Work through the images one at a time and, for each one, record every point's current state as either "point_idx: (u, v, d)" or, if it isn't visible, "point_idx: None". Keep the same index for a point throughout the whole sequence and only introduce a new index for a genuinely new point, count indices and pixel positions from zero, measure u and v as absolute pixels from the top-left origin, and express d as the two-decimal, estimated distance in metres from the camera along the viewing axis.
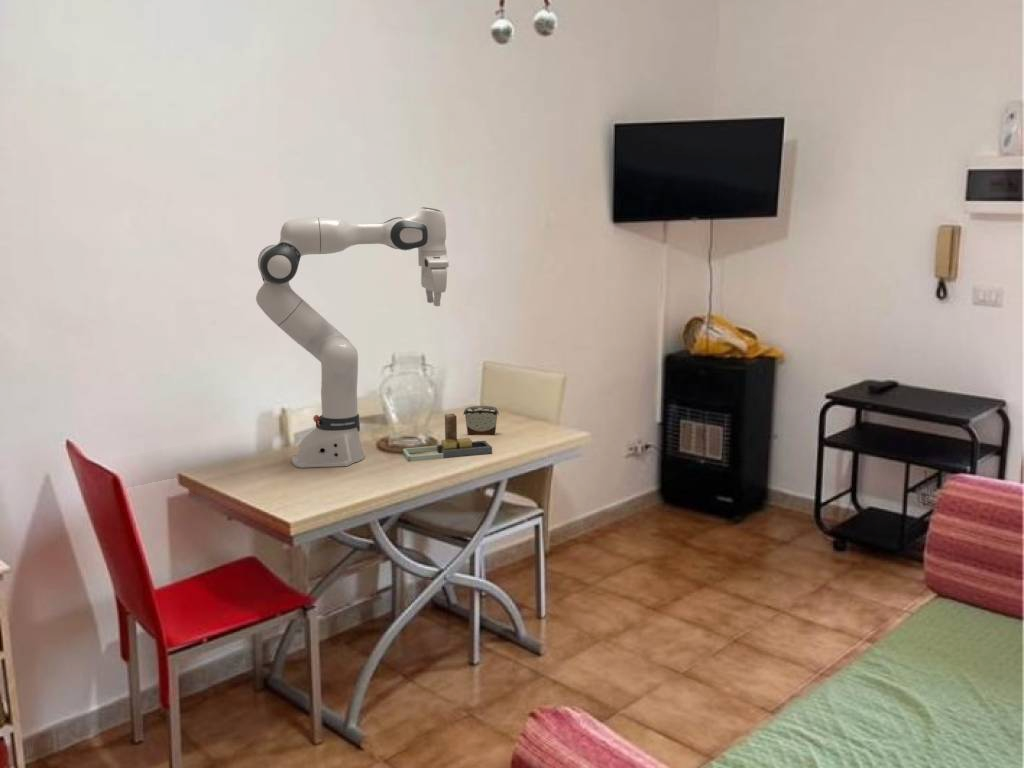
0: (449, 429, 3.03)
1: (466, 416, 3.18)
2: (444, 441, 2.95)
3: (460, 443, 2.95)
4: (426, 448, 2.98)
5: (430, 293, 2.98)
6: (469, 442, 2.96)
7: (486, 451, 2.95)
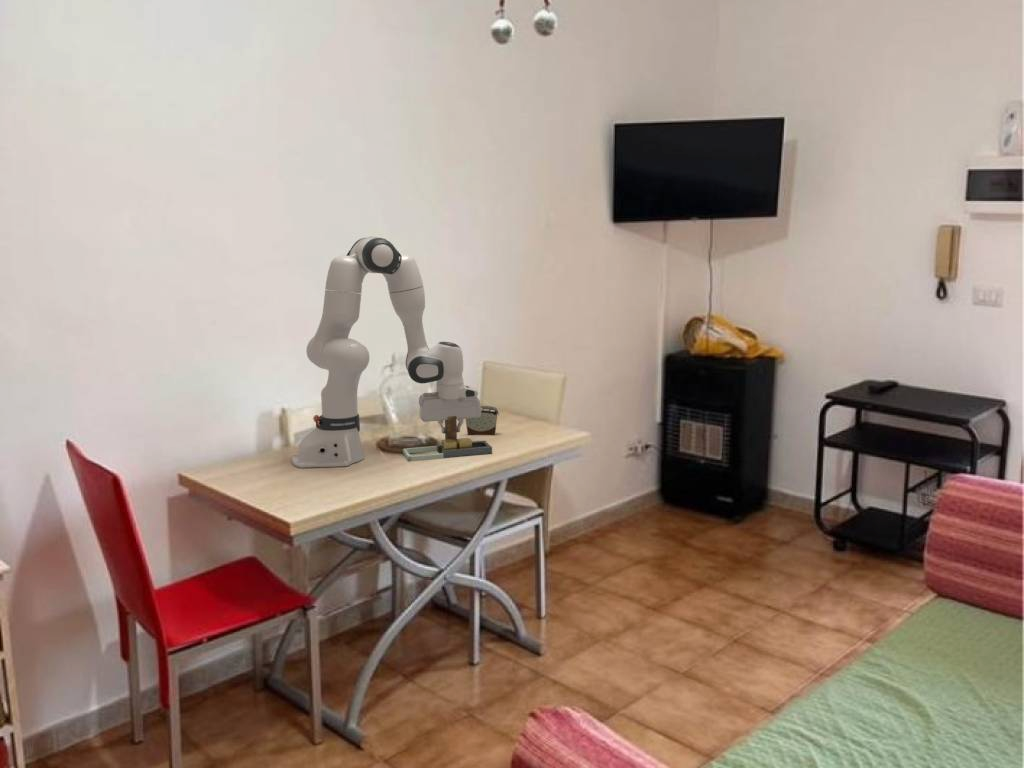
0: (449, 429, 3.03)
1: None
2: (444, 441, 2.95)
3: (460, 443, 2.95)
4: (426, 448, 2.98)
5: (441, 424, 3.05)
6: (469, 442, 2.96)
7: (486, 451, 2.95)
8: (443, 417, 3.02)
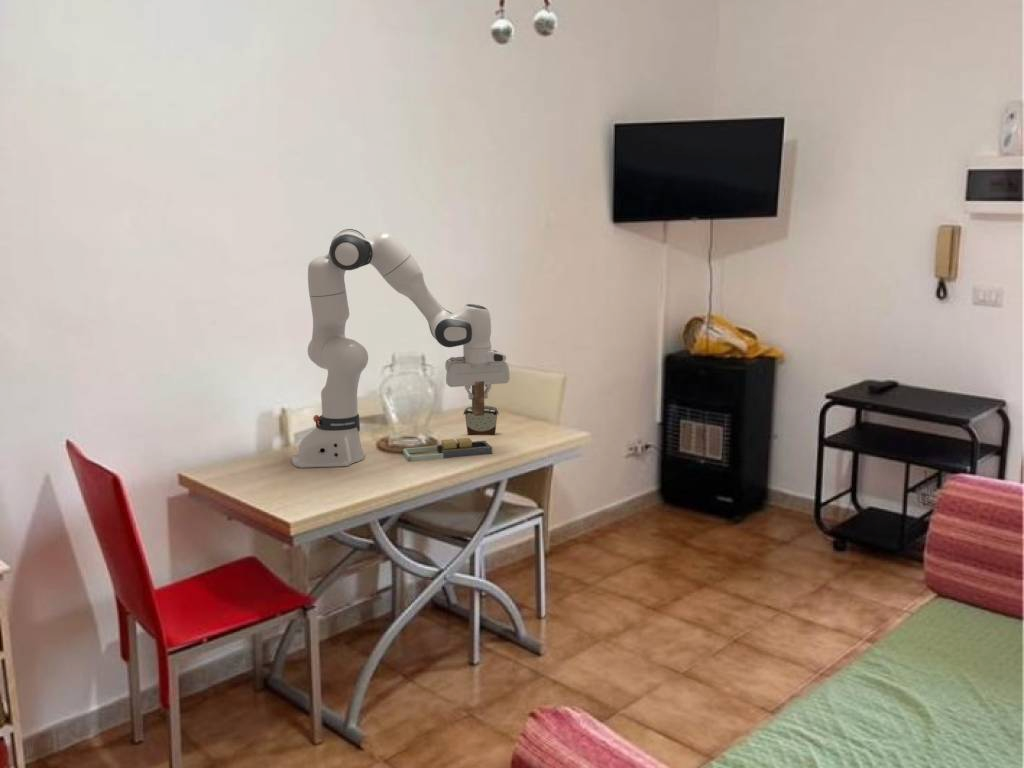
0: (476, 395, 2.93)
1: (466, 416, 3.18)
2: (444, 441, 2.95)
3: (460, 443, 2.95)
4: (426, 448, 2.98)
5: (468, 390, 2.95)
6: (469, 442, 2.96)
7: (486, 451, 2.95)
8: (470, 382, 2.92)
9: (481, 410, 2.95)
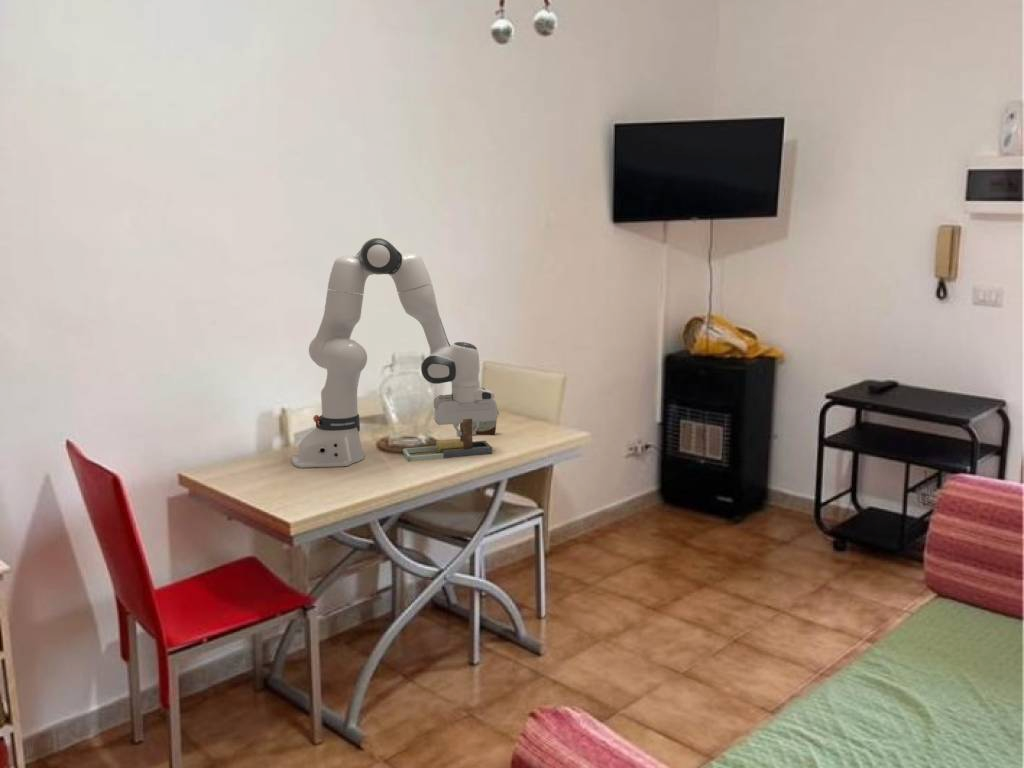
0: (464, 432, 2.94)
1: None
2: (438, 441, 2.95)
3: (451, 444, 2.94)
4: (426, 448, 2.98)
5: None
6: (461, 443, 2.95)
7: (486, 451, 2.95)
8: (458, 420, 2.93)
9: (470, 447, 2.96)
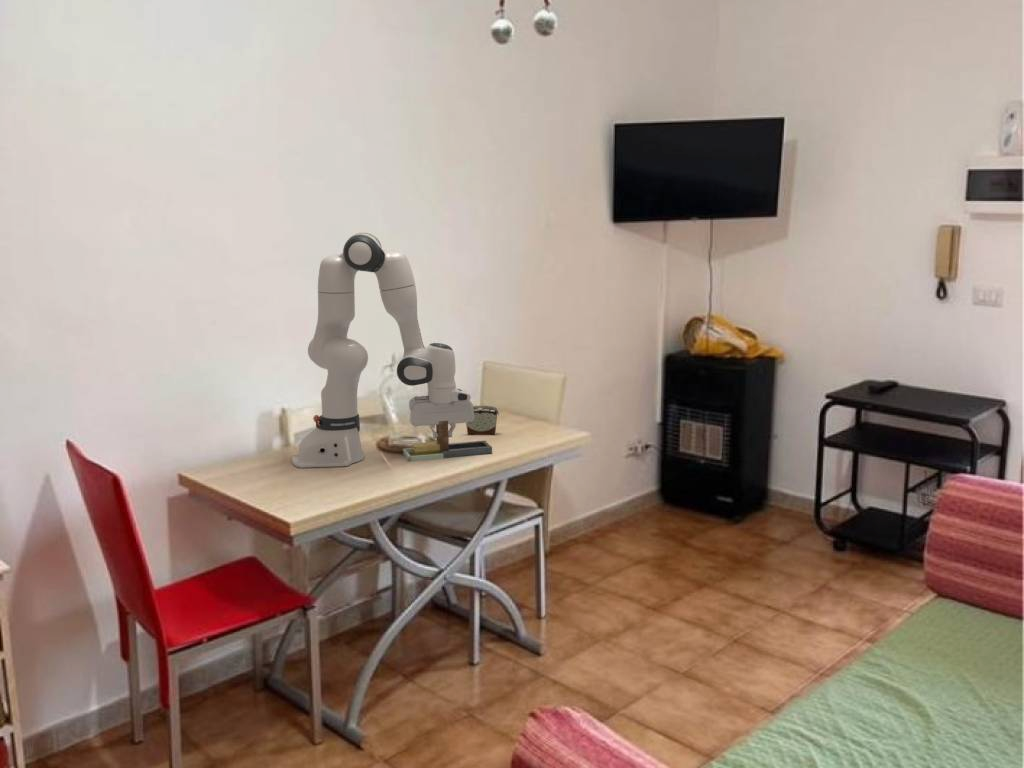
0: (440, 434, 2.92)
1: None
2: (415, 445, 2.92)
3: (428, 447, 2.92)
4: None
5: None
6: (437, 446, 2.93)
7: (486, 451, 2.95)
8: (434, 421, 2.91)
9: (446, 449, 2.94)
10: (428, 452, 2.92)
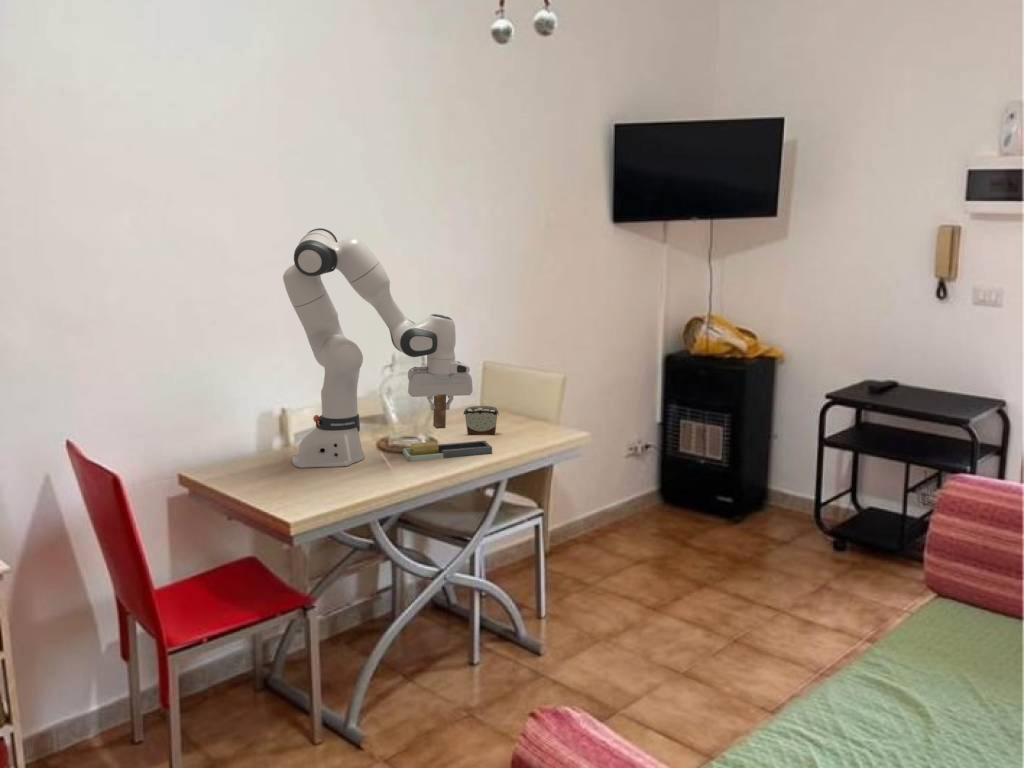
0: (438, 407, 2.91)
1: (466, 416, 3.18)
2: (413, 445, 2.92)
3: (426, 447, 2.92)
4: None
5: None
6: (436, 446, 2.93)
7: (486, 451, 2.95)
8: (432, 393, 2.89)
9: (442, 422, 2.92)
10: (427, 452, 2.92)
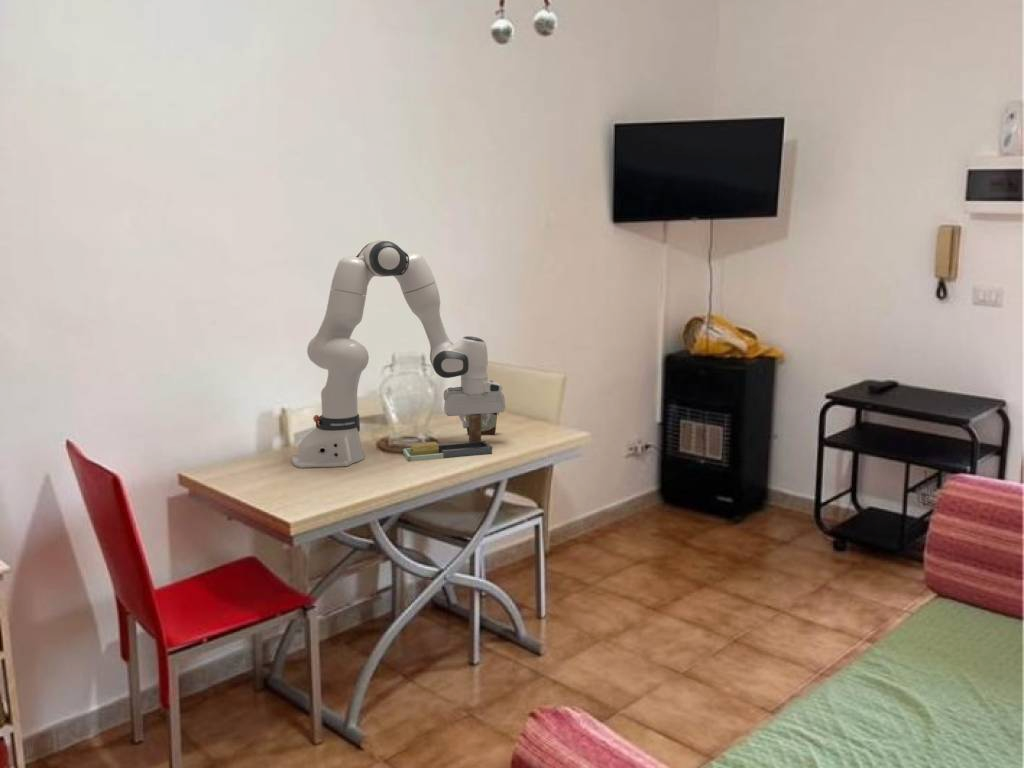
0: (473, 428, 3.05)
1: (466, 416, 3.18)
2: (413, 445, 2.92)
3: (426, 447, 2.92)
4: None
5: None
6: (436, 446, 2.93)
7: (486, 451, 2.95)
8: (467, 411, 3.03)
9: None
10: (427, 452, 2.92)
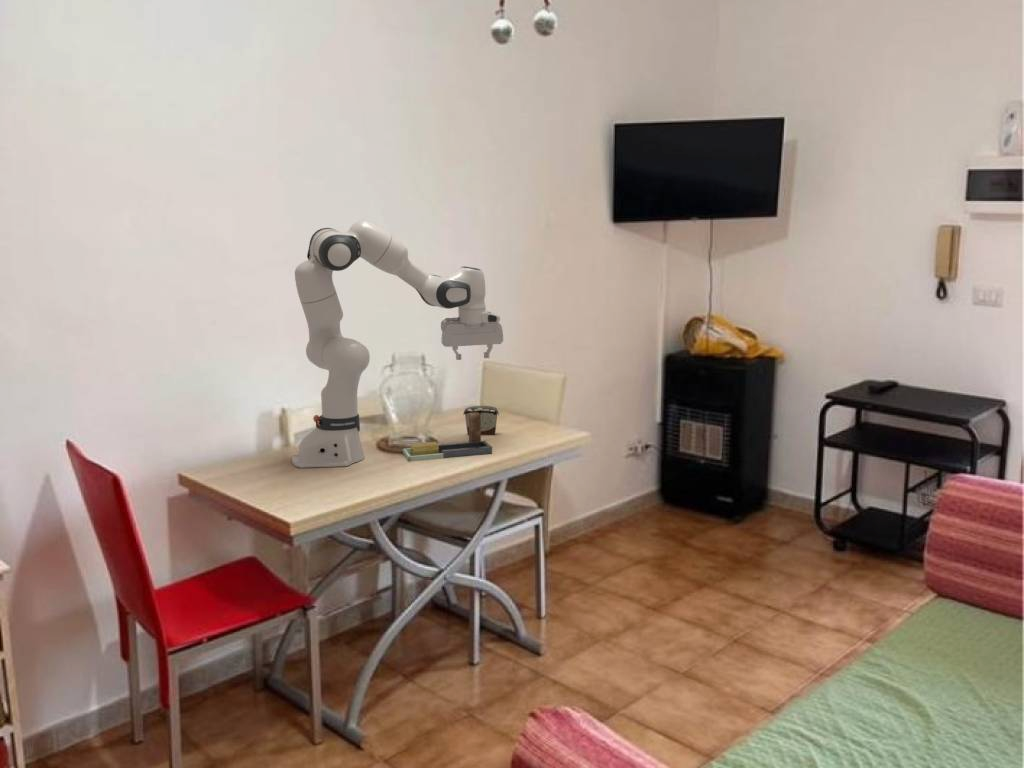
0: (473, 428, 3.05)
1: (466, 416, 3.18)
2: (413, 445, 2.92)
3: (426, 447, 2.92)
4: None
5: None
6: (436, 446, 2.93)
7: (486, 451, 2.95)
8: (465, 342, 3.01)
9: None
10: (427, 452, 2.92)
